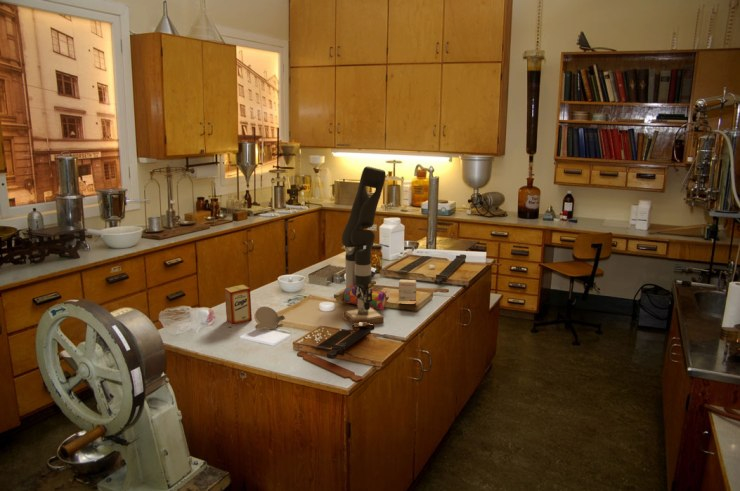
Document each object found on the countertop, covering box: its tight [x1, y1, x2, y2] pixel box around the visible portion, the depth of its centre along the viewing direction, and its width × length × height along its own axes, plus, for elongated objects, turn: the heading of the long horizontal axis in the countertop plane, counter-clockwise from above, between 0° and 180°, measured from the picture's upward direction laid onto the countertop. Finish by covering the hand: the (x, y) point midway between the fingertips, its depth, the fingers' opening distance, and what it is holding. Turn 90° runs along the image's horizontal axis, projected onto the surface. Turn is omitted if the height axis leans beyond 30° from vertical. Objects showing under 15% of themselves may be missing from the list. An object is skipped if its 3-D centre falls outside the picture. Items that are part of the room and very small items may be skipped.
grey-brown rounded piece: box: [253, 306, 286, 331], centre depth 253 cm, size 15×8×11 cm, turn 138°
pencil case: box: [343, 286, 390, 310], centre depth 277 cm, size 22×9×9 cm, turn 66°
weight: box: [357, 296, 369, 315], centre depth 258 cm, size 5×5×8 cm
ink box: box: [398, 279, 417, 302], centre depth 280 cm, size 9×5×12 cm, turn 84°
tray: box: [342, 307, 385, 326], centre depth 260 cm, size 14×14×3 cm
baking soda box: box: [224, 284, 253, 325], centre depth 258 cm, size 10×6×16 cm
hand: (363, 306), depth 258 cm, fingers open, 8 cm apart
